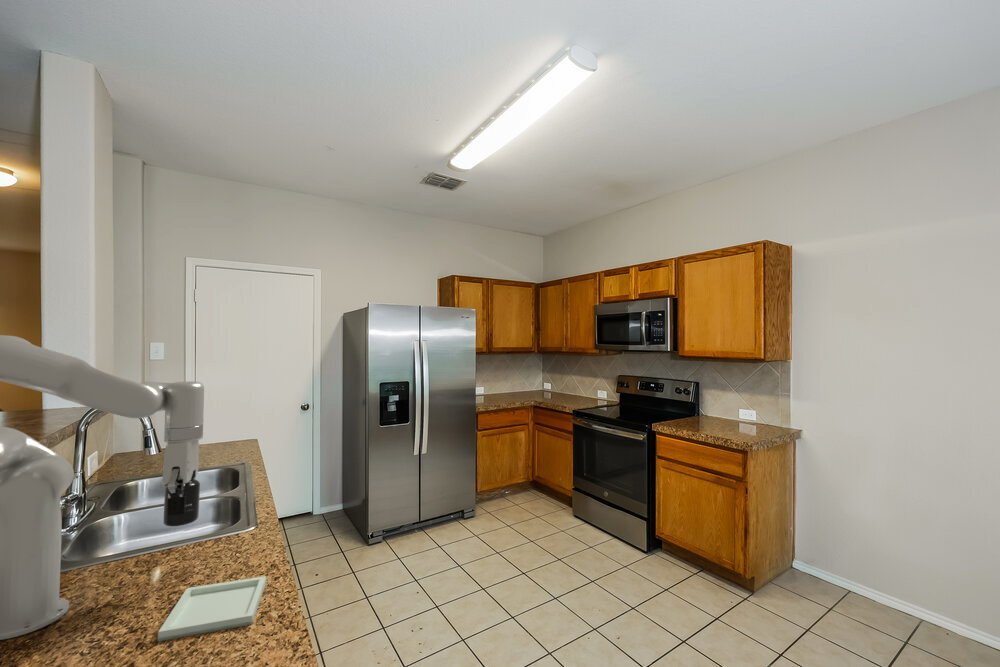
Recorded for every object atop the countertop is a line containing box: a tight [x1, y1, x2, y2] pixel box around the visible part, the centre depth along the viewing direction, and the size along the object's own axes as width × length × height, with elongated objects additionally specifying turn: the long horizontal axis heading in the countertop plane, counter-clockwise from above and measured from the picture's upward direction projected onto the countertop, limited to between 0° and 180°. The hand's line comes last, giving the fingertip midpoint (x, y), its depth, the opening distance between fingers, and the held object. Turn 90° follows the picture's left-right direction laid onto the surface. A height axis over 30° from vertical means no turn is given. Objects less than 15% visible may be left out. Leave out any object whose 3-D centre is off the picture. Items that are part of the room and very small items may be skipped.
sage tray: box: [157, 575, 267, 642], centre depth 93 cm, size 16×16×2 cm
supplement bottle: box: [162, 469, 201, 527], centre depth 104 cm, size 7×7×12 cm
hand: (181, 507), depth 103 cm, fingers closed on supplement bottle, 6 cm apart
